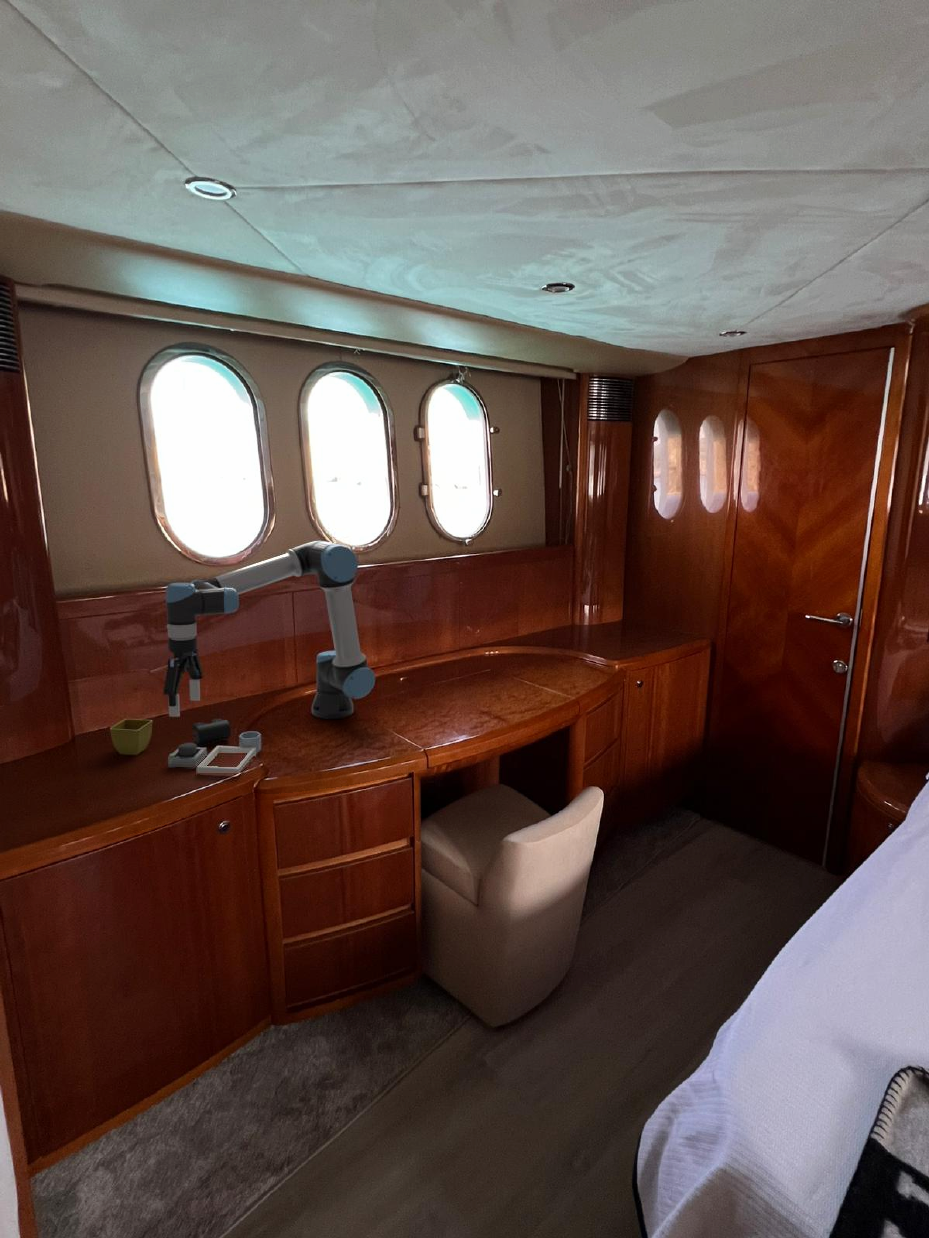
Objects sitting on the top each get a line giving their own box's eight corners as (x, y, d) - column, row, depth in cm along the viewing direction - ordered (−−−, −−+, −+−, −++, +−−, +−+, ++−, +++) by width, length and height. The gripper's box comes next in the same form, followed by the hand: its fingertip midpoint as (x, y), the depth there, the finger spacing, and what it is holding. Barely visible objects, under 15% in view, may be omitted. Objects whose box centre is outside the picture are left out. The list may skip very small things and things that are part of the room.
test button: (199, 751, 190) (199, 743, 190) (192, 759, 186) (192, 750, 185) (183, 751, 190) (182, 742, 190) (175, 758, 186) (175, 749, 185)
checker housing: (207, 756, 192) (206, 745, 192) (195, 768, 185) (195, 757, 184) (180, 755, 192) (180, 744, 192) (168, 767, 185) (167, 755, 184)
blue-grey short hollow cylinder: (263, 746, 202) (262, 731, 201) (256, 754, 196) (256, 739, 195) (244, 745, 202) (243, 730, 201) (237, 753, 196) (237, 738, 195)
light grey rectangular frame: (256, 755, 195) (256, 747, 195) (238, 777, 181) (238, 769, 180) (217, 753, 195) (217, 745, 195) (196, 775, 181) (196, 766, 180)
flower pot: (127, 745, 198) (125, 718, 196) (154, 746, 198) (153, 719, 196) (110, 757, 189) (108, 728, 187) (139, 758, 189) (137, 730, 187)
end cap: (200, 749, 197) (199, 729, 196) (191, 742, 202) (190, 722, 201) (231, 742, 204) (230, 722, 203) (222, 735, 209) (222, 715, 208)
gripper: (188, 627, 193) (191, 693, 197) (147, 647, 169) (151, 722, 173) (213, 628, 193) (215, 694, 197) (175, 648, 169) (178, 724, 173)
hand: (185, 708), depth 185 cm, fingers open, 13 cm apart
